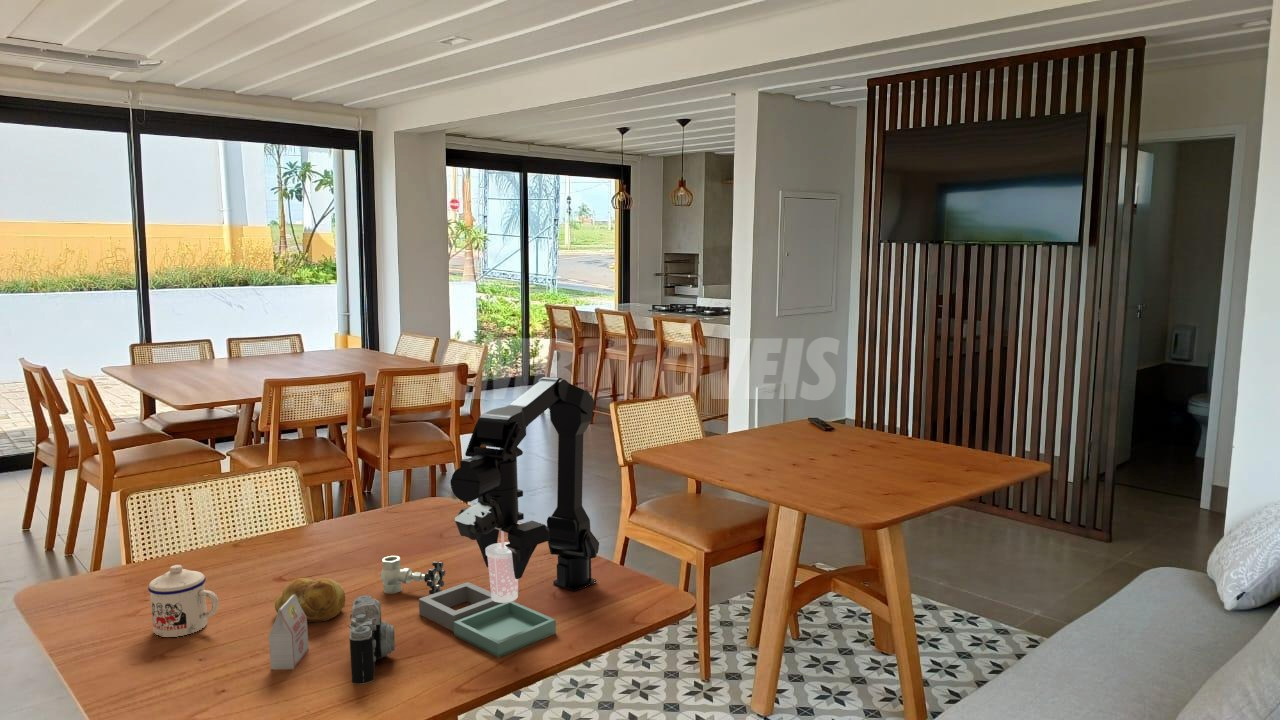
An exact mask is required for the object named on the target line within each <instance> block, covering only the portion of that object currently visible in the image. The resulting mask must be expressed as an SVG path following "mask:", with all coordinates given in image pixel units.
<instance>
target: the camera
mask: <svg viewBox="0 0 1280 720" xmlns="http://www.w3.org/2000/svg"><path fill="white" fill-rule="evenodd" d="M351 609H352V610H351V613H350V616H349V617H350V624H349V625H348V628H350V629H349V630H350V631H349V649H350V651H349V652H350V654H349V655H350V669H351V671H350V672H351V684H355V685H364V683H365V684H368V683H371V682H373V681H374V680H375V670H376V662H377V661H378V660H380V659H381V660H382V659H383V658H384V657H388V655H389V654H391V653H392V652H394V651H395V650H396V649H395V648H396V647H395V645H396V643H395V642H396V641H395V626H394V625H392V624H391V623H387V621H382V607H381V602H380V601H379V600H378V599H376V598H372V595H366V594H365V595H360V596H359V595H358V596H357V597H356V598H355V599H354V600H353V602H352V607H351ZM376 660H377V661H376Z"/></svg>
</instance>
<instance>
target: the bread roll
mask: <svg viewBox="0 0 1280 720" xmlns="http://www.w3.org/2000/svg"><path fill="white" fill-rule="evenodd" d="M295 594H296V597H297V600H298V602H299V604H300V606H301V608H302V610H303V611H304V613H305V615H306V617H307V623H319V622H320V623H321V622H326V621H329V620H332V619H333V618H335V617H336V616H338V615H339V614H340V612H341V611H342V610H343V609H344V607H345V606H346V593H345V590H344V588H343V587H342V585H341V583H339V582H338V581H335V580H333V579H331V578H329V577H322V578H317V579H315V580H313V579H311V578H308V577H299V578H294V579H293V580H292V581H291V582H289V583H288V584H287V585H286V586H285V587H284V588H283V589H282V593H281V595H280V596H278V597H277V598H276V600H275V601H274V610H275V611H276V613H278V610H279V609H280V608H281V607H282V606H283V605H284V604H285V603H286V602H287V600H288V599H289V598H290V597H291V596H292V595H293V596H294V595H295Z"/></svg>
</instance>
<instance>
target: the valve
mask: <svg viewBox="0 0 1280 720" xmlns="http://www.w3.org/2000/svg"><path fill="white" fill-rule="evenodd" d="M431 566H432V567H433V569H432V568H430V569H428V571H427V572H425V574H424V573H423V572H421V571H420V572H419V571H414V572H413V571H412V568H407V567H404V568H402V567H401V557H400V556H398V555H390V556H386V557H383V558H382V569H381V572H380V579H381V582H382V583H383V593H384V594H390V595H391V594H392V595H393V594H397V593H399V592H401V591H402V590H403V589H402V584H406V585H408V584H410V583H411V582H412V581H414V582H423V581H424V582H425V583H426V587H428V588H430V589H429V591H428V593H429V595H431V594H434V593H437V592H440V591H441V588H443V587H444V585H445V581H444V580H443V577H444V576H446V570H445V569H443V568H444V562H442V561H433V562H432V565H431Z"/></svg>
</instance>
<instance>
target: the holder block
mask: <svg viewBox="0 0 1280 720" xmlns="http://www.w3.org/2000/svg"><path fill="white" fill-rule="evenodd" d="M466 602H467V603H469V604H470V605H467V606H465V607H464V606H463V607H462V608H460V609H456V610H455V609H453V608H452V607H455V606H457V605H460V604H463V603H466ZM499 604H502V603H498V602H494V601H493V600H492V598H491V590H490V591H489V590H487V589H485V588H482V587H480V586H478V585H475V584H473V583H471V582H469V581H468V582H464V583H462V584H458V585H455V586H451V587H449V588H447V589H443V590H440V592H437V593H434V594H429V595H426V596H423V597H420V598H418V612H419V613H418V614H419V616H422V617H424V618H426V619H428V620H429V621H432V622H434V623H436V624H438V625H440V626H442V627H444V628H446V629H448V630H450V631H451V632H454V622H455V621H457V620H460V619H462V618H465V617H468V616H470V615H473V614H476V613H478V612H481V611H484V610H486V609H489V608H492V607H494V606H497V605H499Z"/></svg>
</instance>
